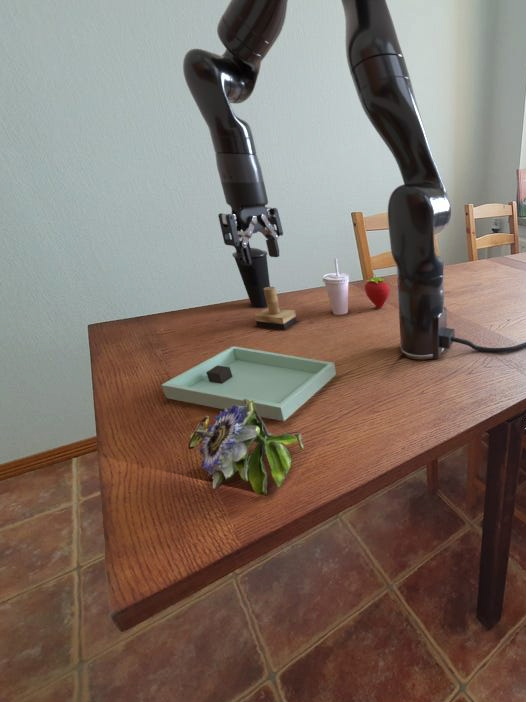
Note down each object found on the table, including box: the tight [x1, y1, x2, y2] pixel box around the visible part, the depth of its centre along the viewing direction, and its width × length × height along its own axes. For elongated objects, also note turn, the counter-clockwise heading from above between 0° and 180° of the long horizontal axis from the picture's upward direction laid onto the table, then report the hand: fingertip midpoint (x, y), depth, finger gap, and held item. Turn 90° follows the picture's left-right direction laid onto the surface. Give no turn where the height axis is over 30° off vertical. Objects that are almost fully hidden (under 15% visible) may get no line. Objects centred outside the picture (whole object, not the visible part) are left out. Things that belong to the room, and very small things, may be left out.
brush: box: [254, 286, 298, 331], centre depth 88 cm, size 7×5×9 cm
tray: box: [160, 346, 337, 422], centre depth 65 cm, size 22×15×3 cm
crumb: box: [206, 366, 232, 384], centre depth 66 cm, size 2×2×2 cm
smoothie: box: [322, 258, 350, 316], centre depth 95 cm, size 6×6×14 cm
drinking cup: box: [231, 230, 271, 308], centre depth 96 cm, size 8×8×20 cm
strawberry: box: [364, 272, 391, 309], centre depth 100 cm, size 6×8×10 cm
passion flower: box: [187, 399, 305, 497], centre depth 48 cm, size 11×11×12 cm
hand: (261, 260), depth 82 cm, fingers open, 8 cm apart
